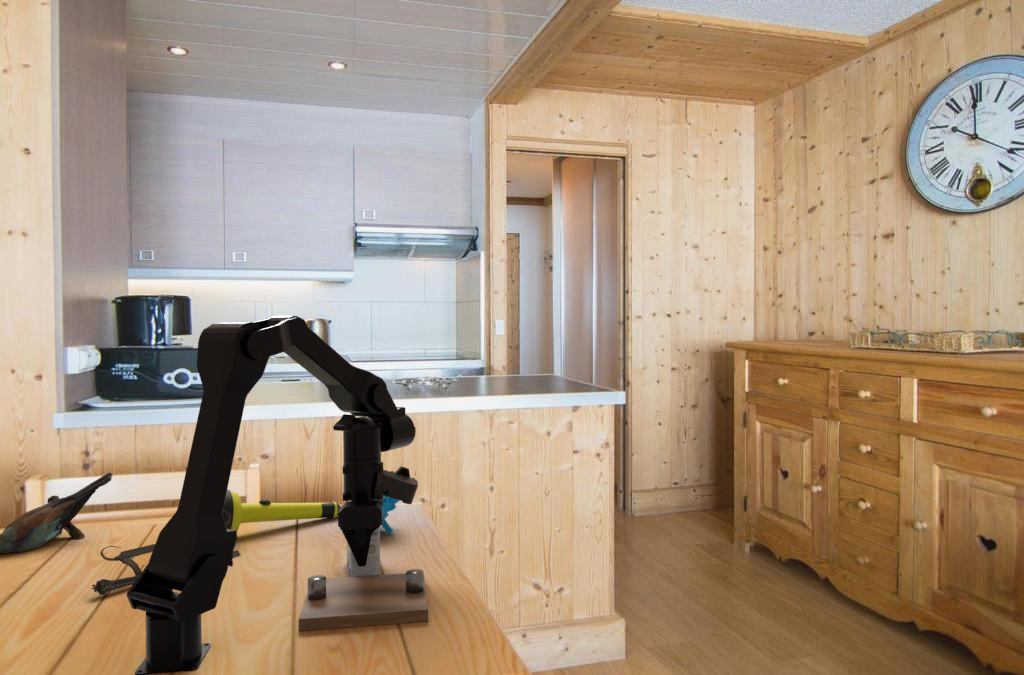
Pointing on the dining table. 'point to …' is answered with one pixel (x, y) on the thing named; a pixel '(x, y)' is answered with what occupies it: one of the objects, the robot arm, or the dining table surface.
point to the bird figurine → (48, 520)
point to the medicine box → (372, 558)
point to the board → (364, 601)
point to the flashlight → (273, 511)
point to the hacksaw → (124, 557)
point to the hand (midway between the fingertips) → (363, 557)
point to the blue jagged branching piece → (386, 507)
